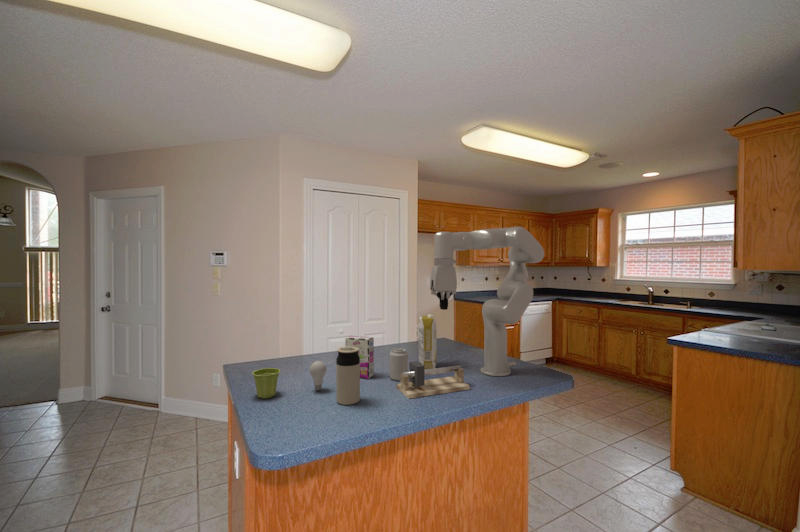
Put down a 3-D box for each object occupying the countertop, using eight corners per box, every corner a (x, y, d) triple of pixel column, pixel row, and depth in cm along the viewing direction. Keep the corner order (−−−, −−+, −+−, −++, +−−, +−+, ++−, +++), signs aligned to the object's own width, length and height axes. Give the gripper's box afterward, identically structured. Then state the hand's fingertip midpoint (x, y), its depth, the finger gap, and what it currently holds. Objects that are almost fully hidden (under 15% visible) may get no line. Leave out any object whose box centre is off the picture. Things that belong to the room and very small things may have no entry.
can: (405, 382, 144) (405, 352, 144) (387, 380, 146) (387, 351, 146) (409, 376, 152) (409, 347, 151) (391, 375, 153) (391, 346, 153)
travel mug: (349, 407, 119) (349, 352, 119) (331, 402, 123) (331, 349, 123) (364, 399, 126) (364, 347, 126) (346, 395, 130) (346, 345, 130)
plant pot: (252, 393, 132) (252, 369, 132) (279, 389, 136) (279, 366, 136) (252, 402, 124) (252, 376, 124) (281, 398, 127) (281, 373, 127)
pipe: (458, 370, 142) (458, 364, 142) (461, 371, 140) (461, 365, 140) (402, 377, 133) (402, 371, 133) (404, 379, 131) (404, 372, 131)
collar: (416, 379, 138) (416, 361, 138) (424, 385, 131) (424, 366, 131) (409, 380, 137) (409, 362, 137) (417, 386, 130) (416, 367, 130)
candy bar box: (374, 376, 152) (374, 337, 152) (368, 379, 147) (368, 339, 147) (351, 373, 156) (351, 335, 156) (345, 376, 152) (344, 337, 151)
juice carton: (436, 370, 160) (436, 316, 160) (419, 370, 160) (419, 316, 160) (435, 364, 169) (435, 313, 169) (418, 364, 169) (418, 313, 169)
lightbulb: (329, 388, 136) (329, 359, 136) (320, 394, 131) (320, 364, 131) (315, 387, 138) (315, 358, 138) (306, 392, 133) (306, 362, 133)
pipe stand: (453, 379, 147) (453, 363, 147) (469, 389, 136) (469, 372, 136) (396, 387, 138) (396, 370, 137) (408, 398, 126) (408, 380, 126)
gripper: (455, 263, 150) (455, 307, 150) (422, 263, 144) (422, 309, 144) (465, 263, 143) (465, 309, 143) (431, 263, 137) (431, 311, 137)
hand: (443, 309), depth 144 cm, fingers closed
